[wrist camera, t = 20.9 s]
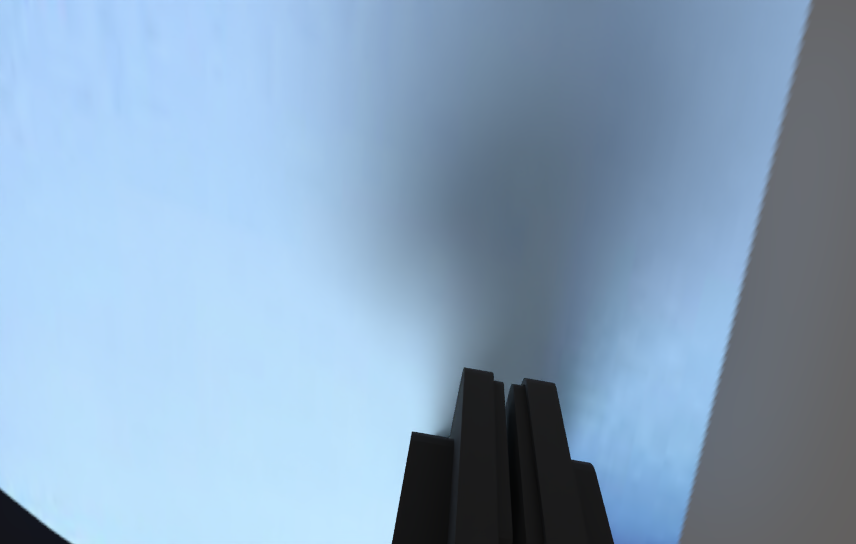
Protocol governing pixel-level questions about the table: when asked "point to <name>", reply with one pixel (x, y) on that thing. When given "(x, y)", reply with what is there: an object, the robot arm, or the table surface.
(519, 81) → the table surface
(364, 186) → the table surface
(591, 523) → the robot arm
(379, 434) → the table surface
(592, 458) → the table surface
